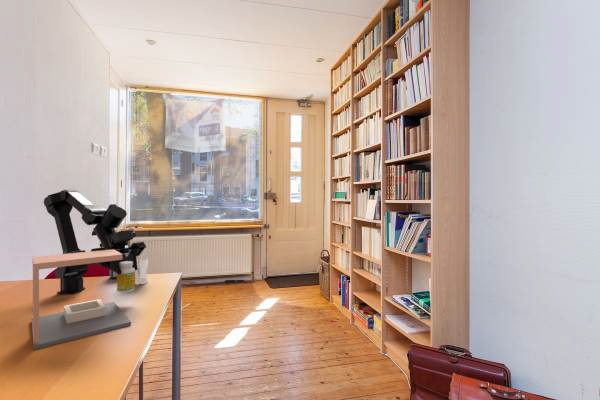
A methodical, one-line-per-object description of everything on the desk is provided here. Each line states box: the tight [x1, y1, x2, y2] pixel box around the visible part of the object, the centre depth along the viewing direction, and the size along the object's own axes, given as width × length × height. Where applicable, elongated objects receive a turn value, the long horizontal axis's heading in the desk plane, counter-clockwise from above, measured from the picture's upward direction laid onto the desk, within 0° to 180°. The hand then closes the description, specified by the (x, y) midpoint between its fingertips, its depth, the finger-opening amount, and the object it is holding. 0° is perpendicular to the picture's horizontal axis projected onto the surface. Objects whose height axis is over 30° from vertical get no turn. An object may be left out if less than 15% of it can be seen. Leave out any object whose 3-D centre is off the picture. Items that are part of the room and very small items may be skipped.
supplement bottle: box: [116, 261, 136, 294], centre depth 103 cm, size 5×5×10 cm
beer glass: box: [135, 246, 150, 286], centre depth 129 cm, size 7×7×15 cm
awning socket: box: [31, 249, 132, 350], centre depth 88 cm, size 22×21×20 cm
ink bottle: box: [109, 254, 126, 280], centre depth 139 cm, size 10×9×12 cm
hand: (128, 271), depth 103 cm, fingers closed on supplement bottle, 5 cm apart
